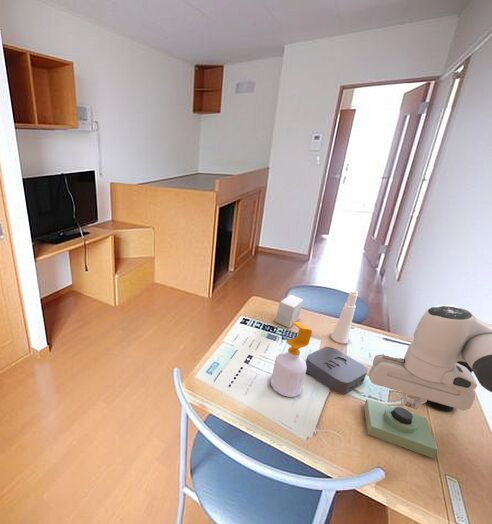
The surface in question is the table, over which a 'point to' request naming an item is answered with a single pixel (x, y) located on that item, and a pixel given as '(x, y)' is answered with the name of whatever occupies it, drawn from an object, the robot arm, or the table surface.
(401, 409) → the dark grey button
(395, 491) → the table surface
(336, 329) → the cosmetic bottle
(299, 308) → the cosmetics box
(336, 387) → the streaming box
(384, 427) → the button block
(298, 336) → the soap bottle
